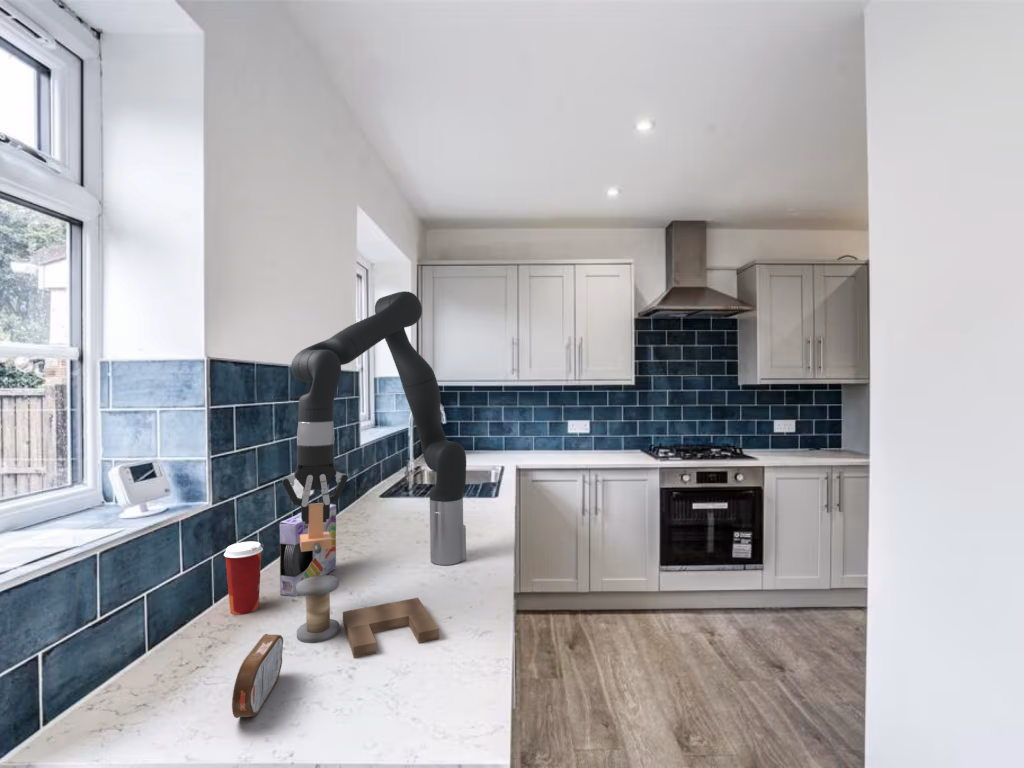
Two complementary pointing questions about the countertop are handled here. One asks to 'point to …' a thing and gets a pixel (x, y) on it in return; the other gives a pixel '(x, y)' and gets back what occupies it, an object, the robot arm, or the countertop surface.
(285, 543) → the cake pan box
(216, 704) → the countertop surface
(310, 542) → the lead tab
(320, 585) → the bobbin
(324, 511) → the robot arm
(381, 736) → the countertop surface
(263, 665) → the tin
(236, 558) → the paper cup
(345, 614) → the brown flat u-shaped block
